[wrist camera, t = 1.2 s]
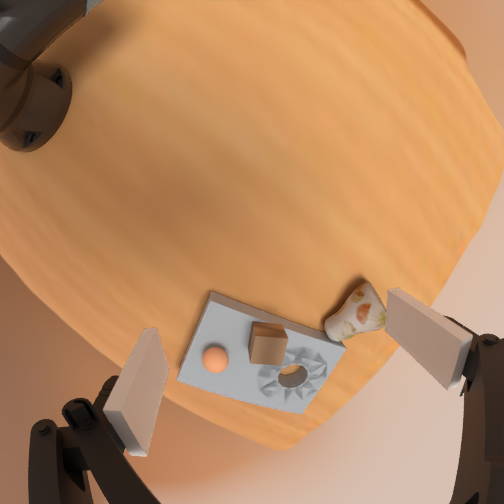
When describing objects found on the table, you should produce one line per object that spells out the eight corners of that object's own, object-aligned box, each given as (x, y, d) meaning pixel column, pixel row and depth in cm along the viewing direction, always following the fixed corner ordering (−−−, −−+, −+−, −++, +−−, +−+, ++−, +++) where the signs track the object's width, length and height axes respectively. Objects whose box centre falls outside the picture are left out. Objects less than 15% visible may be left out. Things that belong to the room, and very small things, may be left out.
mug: (306, 318, 40) (347, 313, 31) (345, 281, 44) (387, 268, 35) (332, 355, 40) (375, 357, 31) (367, 316, 44) (411, 309, 35)
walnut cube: (247, 347, 36) (250, 363, 32) (252, 321, 36) (255, 335, 32) (276, 349, 37) (281, 365, 33) (282, 324, 36) (288, 338, 32)
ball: (199, 358, 36) (197, 373, 33) (208, 338, 36) (206, 352, 32) (223, 366, 37) (223, 381, 33) (232, 347, 36) (233, 361, 33)
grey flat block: (179, 367, 40) (176, 380, 37) (211, 290, 38) (210, 300, 35) (296, 401, 44) (301, 414, 40) (338, 337, 41) (346, 348, 38)
